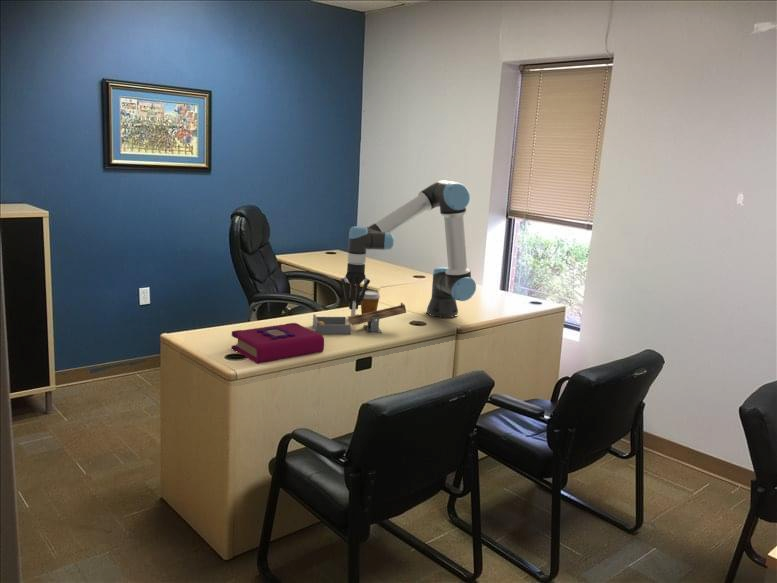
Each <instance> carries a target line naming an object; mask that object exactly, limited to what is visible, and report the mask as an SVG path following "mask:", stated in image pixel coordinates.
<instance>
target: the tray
mask: <svg viewBox="0 0 777 583" xmlns="http://www.w3.org/2000/svg"><path fill="white" fill-rule="evenodd" d="M312 317H313V318H312V320H313V321H312V328H314V329H315V330H314V332H317V333H319V334H321V335H351V326H352V325H351V324H346V322H347V321H346V320H347V319H346V316H316V314H313V316H312ZM319 321H322V322H324V325H319Z"/></svg>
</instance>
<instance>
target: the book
mask: <svg viewBox="0 0 777 583" xmlns="http://www.w3.org/2000/svg"><path fill="white" fill-rule="evenodd" d="M231 337H233V338H234V339H237V343H236V344H233V345H231V350H232V349H233V350H232V351H234V352H236V351H237V352H236V353H238V354H239V353H240V354H239V355H241V354H242V355H241V356H243V355H244V356H243V357H244V358H246V357H247V359H248V358H249V359H248V360H250V361H252V362H253V361H254V362H253V363H255V364H261V363H267V362H272V361H278V360H283V359H284V360H285V359H288V358H289V359H291V358H294V357H301V356H306V355H311V354H317V352H318V353H323V352H324V349H325V338H324V334H319V333H317V332H315V330H312V329H309V328H307V327H305V326H303V325H300V323H297V322H290V323H285V324H277V325H270V326H263V327H254V328H249V329H240V330H239V329H238V330H233V331H231Z"/></svg>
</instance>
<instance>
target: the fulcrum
mask: <svg viewBox="0 0 777 583" xmlns="http://www.w3.org/2000/svg"><path fill="white" fill-rule="evenodd" d="M368 313H369V312H368ZM379 326H380V319H379V317H372V318H371V321H369V322H367V325H366V324H364V325H363V328H364V330H365V331H366V330H367V331H366V332H367V334H368V333H382V334H383V331H382V330H381V328H380V327H379Z"/></svg>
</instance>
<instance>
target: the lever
mask: <svg viewBox="0 0 777 583" xmlns="http://www.w3.org/2000/svg"><path fill="white" fill-rule="evenodd" d="M406 313H407V309H406V305H405V303H403V302H400V305H396V306H392V307H388V308H383V309H379V310H378V309H377V311H374V312H369V313H365V314H359V313H357V314H355V316H352V317H351V315H349V316H347V320H348V321H349V323H350V325H351V326H357V325H361V324H364V323H368V322H369V321H371V318H372V317H379V320H382V319H386V318H390V317H394V316H399V315H403V314H406Z"/></svg>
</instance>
